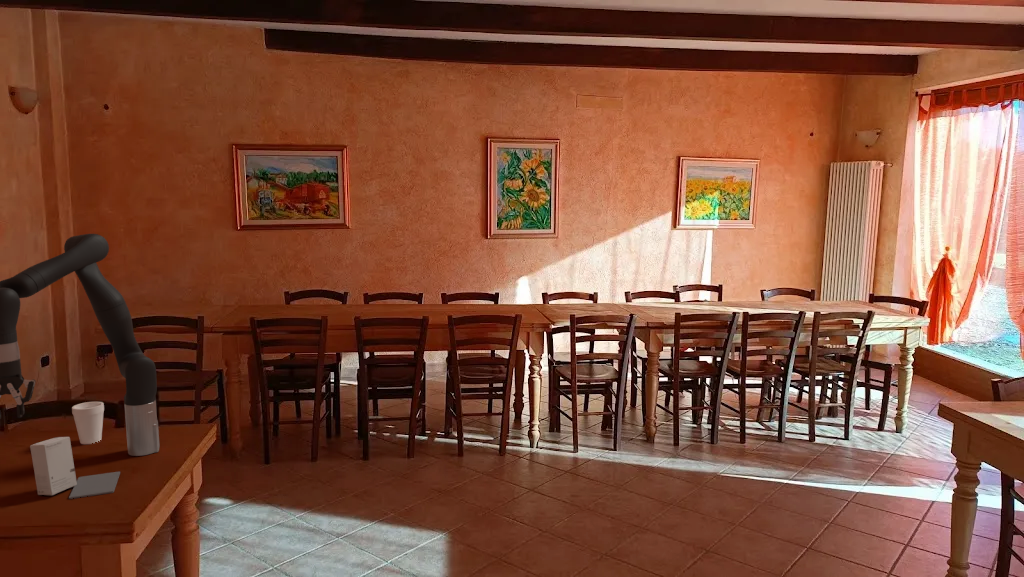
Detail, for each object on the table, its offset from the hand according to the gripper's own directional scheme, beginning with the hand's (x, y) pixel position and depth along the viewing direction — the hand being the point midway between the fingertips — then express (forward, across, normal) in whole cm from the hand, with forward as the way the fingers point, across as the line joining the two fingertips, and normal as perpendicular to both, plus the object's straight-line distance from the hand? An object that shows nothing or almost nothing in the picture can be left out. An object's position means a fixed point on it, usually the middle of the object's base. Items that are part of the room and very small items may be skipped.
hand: (9, 417), depth 192 cm
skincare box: (+23, -10, 0) cm, 25 cm away
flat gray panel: (+23, -20, 0) cm, 30 cm away
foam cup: (+24, -12, -45) cm, 52 cm away
